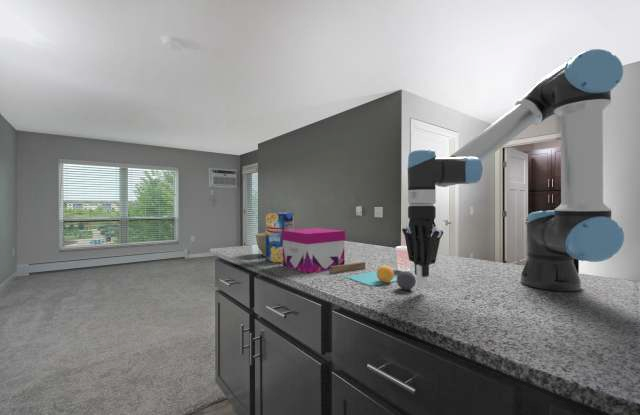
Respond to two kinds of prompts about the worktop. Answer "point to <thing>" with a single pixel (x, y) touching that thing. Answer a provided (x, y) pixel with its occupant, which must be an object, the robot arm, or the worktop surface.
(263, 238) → the planter bowl
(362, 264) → the wall
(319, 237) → the decorative box
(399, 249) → the beverage cup
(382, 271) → the orange ball
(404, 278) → the gray ball
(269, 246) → the beverage box
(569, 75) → the robot arm
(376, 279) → the teal mark
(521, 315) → the worktop surface
